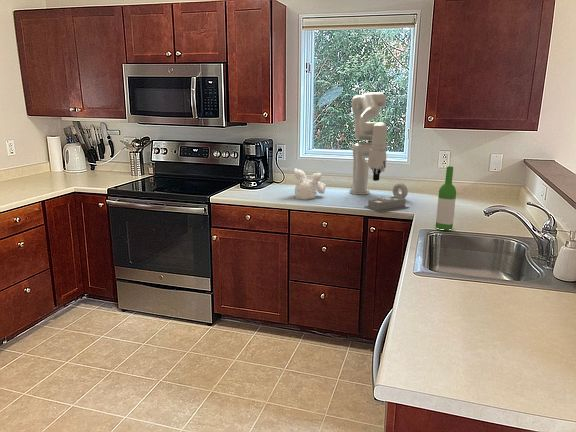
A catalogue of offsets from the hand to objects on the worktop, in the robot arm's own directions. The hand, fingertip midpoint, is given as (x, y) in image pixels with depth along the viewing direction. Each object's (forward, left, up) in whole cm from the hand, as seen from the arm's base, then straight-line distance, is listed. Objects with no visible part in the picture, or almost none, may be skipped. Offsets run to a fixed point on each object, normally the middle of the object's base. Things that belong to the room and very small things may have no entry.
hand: (376, 180), depth 267 cm
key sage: (+4, +12, -14) cm, 19 cm away
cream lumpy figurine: (-40, -17, -15) cm, 46 cm away
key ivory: (+4, -1, -14) cm, 15 cm away
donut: (-7, +26, -15) cm, 31 cm away
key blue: (+4, +5, -13) cm, 15 cm away
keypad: (+4, +5, -15) cm, 17 cm away
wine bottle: (+49, -1, -15) cm, 52 cm away
